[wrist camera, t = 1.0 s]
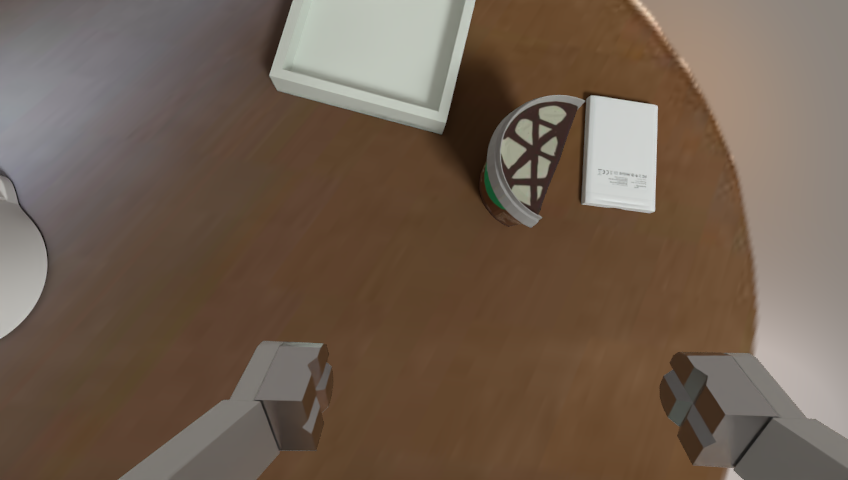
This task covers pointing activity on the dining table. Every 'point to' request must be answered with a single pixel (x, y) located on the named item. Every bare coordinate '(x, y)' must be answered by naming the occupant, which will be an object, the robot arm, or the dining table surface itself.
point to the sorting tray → (375, 56)
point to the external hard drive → (619, 154)
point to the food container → (525, 158)
